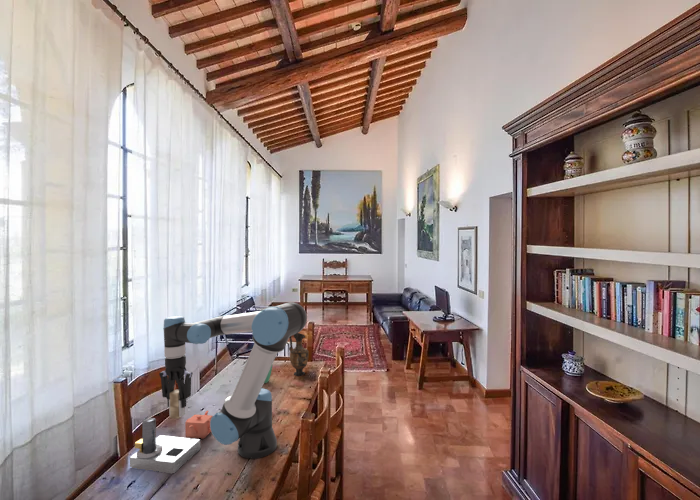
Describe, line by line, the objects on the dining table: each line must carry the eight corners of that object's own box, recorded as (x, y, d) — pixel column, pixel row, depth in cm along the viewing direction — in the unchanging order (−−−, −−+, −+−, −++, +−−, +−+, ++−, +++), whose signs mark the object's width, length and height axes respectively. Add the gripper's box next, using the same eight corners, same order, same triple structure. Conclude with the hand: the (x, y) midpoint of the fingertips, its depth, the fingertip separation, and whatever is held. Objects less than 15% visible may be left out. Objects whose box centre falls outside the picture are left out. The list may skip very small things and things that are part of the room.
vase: (307, 377, 228) (306, 328, 227) (287, 377, 228) (286, 328, 227) (309, 370, 239) (309, 323, 239) (290, 370, 240) (289, 324, 239)
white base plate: (200, 449, 148) (200, 439, 148) (173, 473, 133) (173, 462, 133) (160, 444, 152) (160, 435, 152) (129, 468, 136) (129, 457, 136)
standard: (167, 447, 142) (166, 416, 142) (151, 460, 134) (150, 427, 134) (146, 445, 144) (145, 414, 144) (129, 457, 136) (128, 424, 136)
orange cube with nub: (220, 427, 166) (220, 408, 166) (203, 445, 151) (202, 425, 151) (196, 425, 168) (195, 407, 168) (176, 443, 153) (175, 423, 153)
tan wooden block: (184, 414, 149) (183, 389, 149) (178, 418, 146) (177, 393, 146) (176, 414, 150) (175, 389, 150) (170, 418, 146) (169, 392, 146)
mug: (273, 378, 226) (273, 361, 226) (271, 384, 216) (271, 367, 216) (249, 379, 225) (248, 362, 225) (245, 385, 215) (245, 368, 215)
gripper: (199, 353, 150) (201, 412, 150) (163, 352, 153) (165, 409, 153) (188, 359, 142) (190, 420, 142) (150, 358, 145) (152, 418, 146)
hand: (177, 414), depth 148 cm, fingers closed on tan wooden block, 3 cm apart
